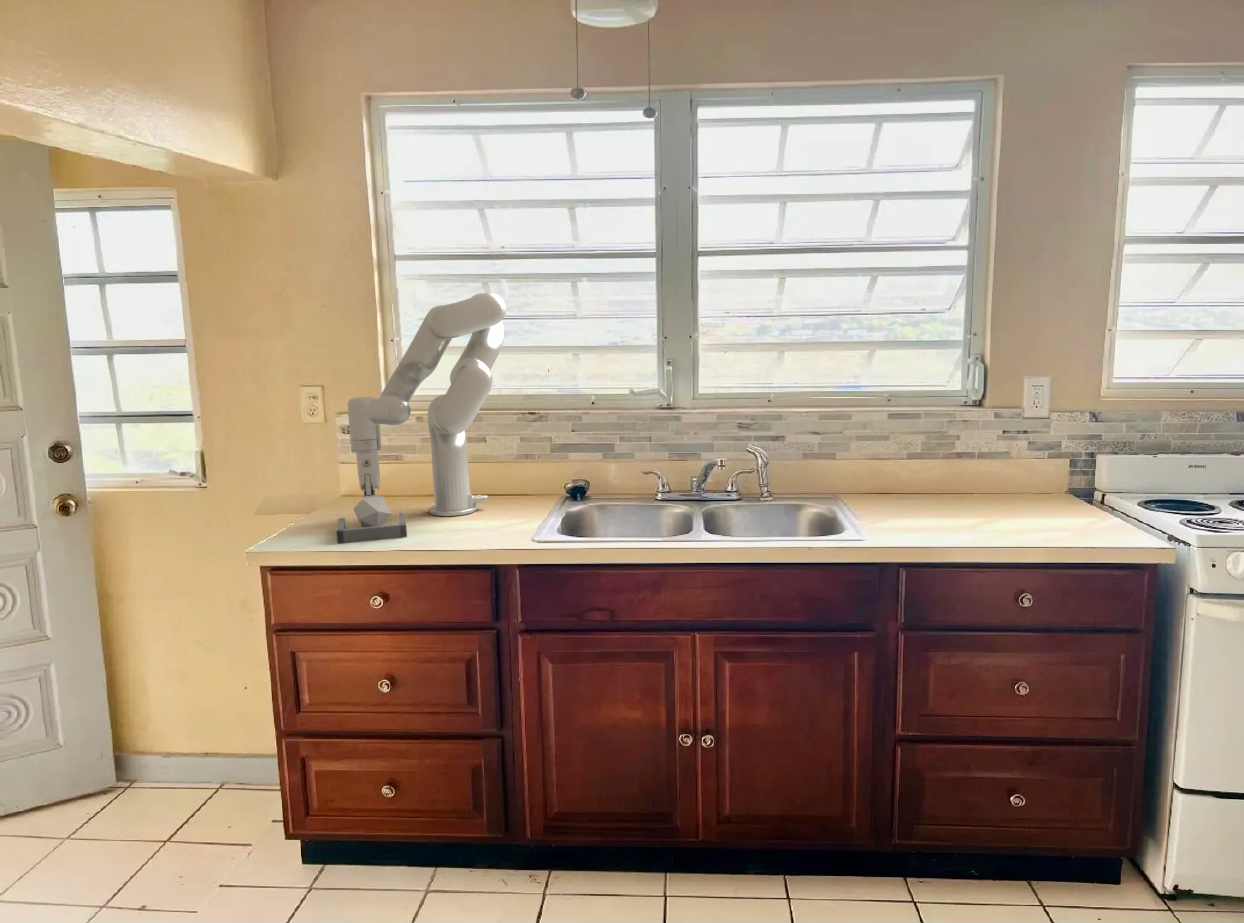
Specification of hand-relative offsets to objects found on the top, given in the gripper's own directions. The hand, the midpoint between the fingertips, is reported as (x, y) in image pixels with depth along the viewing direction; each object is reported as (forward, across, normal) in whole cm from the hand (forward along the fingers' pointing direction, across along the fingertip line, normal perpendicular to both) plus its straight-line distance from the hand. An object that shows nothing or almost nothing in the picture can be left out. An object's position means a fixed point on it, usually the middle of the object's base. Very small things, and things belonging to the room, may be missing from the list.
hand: (371, 514), depth 219 cm
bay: (+2, -14, -1) cm, 14 cm away
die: (+2, -6, -1) cm, 7 cm away
